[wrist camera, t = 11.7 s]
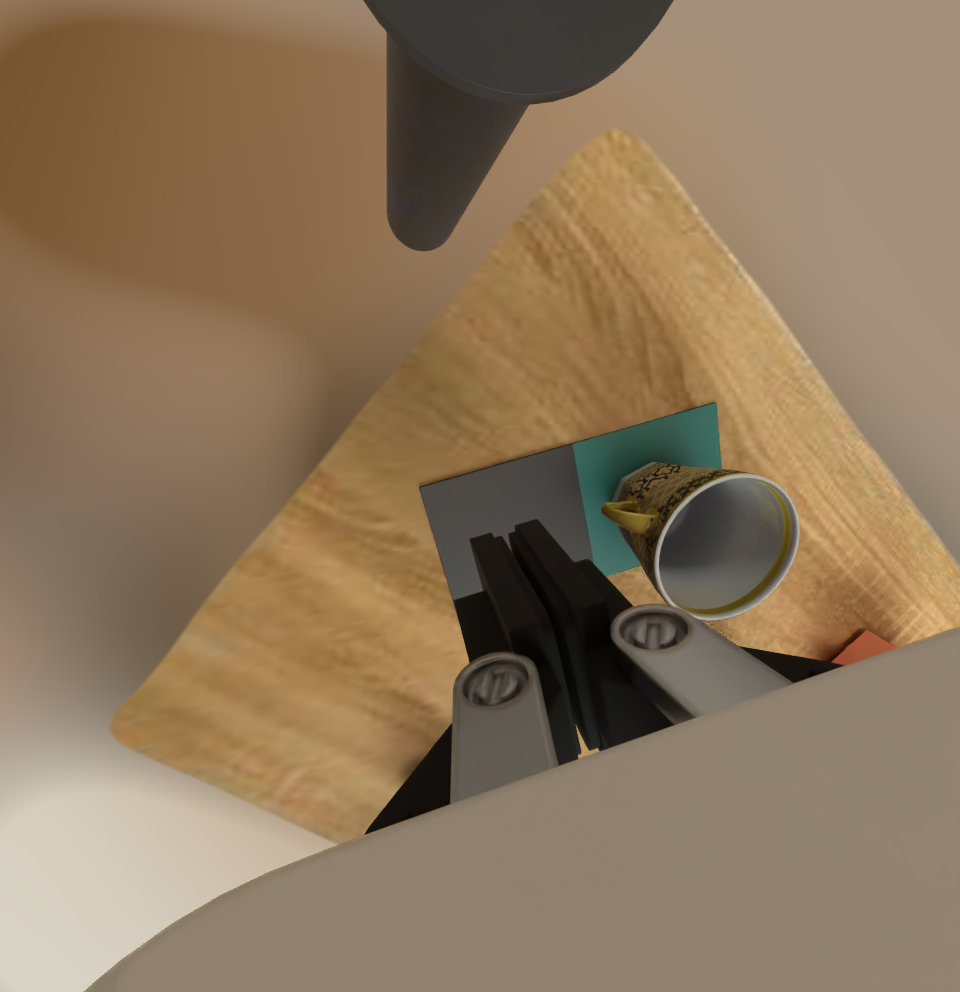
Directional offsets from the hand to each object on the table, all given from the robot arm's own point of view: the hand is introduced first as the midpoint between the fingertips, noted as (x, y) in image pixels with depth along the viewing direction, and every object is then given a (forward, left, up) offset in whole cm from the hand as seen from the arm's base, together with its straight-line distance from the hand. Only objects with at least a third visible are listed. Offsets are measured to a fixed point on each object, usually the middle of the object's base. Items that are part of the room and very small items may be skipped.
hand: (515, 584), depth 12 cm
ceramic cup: (+10, +14, -25) cm, 31 cm away
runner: (+11, +10, -25) cm, 29 cm away
